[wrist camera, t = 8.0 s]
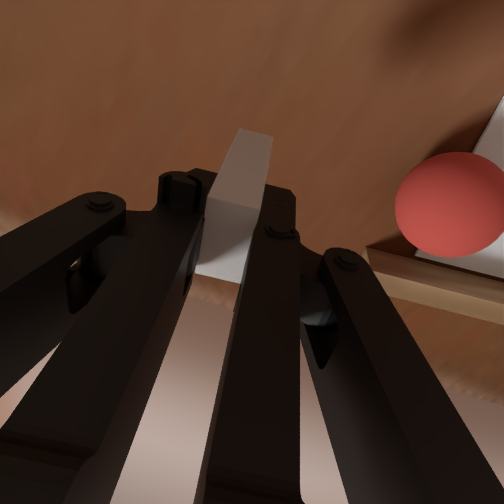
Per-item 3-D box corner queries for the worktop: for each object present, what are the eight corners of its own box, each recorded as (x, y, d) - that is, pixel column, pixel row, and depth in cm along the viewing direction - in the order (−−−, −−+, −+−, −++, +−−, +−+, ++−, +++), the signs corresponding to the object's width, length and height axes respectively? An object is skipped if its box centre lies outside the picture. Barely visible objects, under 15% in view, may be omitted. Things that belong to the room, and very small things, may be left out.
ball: (532, 162, 21) (429, 124, 22) (552, 203, 17) (421, 153, 18) (471, 243, 25) (385, 206, 26) (473, 295, 20) (369, 248, 22)
